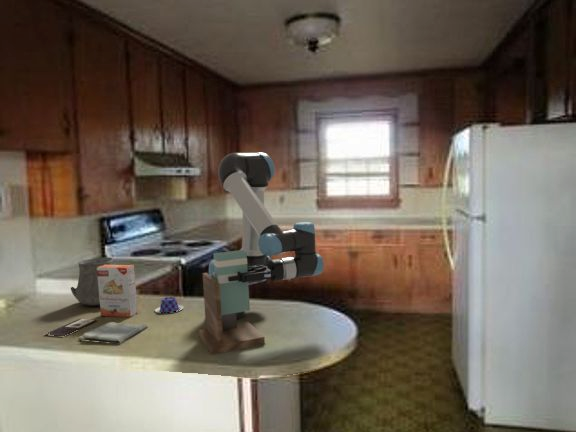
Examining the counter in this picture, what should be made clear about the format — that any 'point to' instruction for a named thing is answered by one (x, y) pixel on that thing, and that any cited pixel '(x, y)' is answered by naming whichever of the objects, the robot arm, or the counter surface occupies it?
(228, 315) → the bookend
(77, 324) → the chocolate bar
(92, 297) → the vessel
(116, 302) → the cracker box
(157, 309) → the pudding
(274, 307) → the counter surface
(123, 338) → the dish towel
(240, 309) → the book
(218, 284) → the brown angled piece
